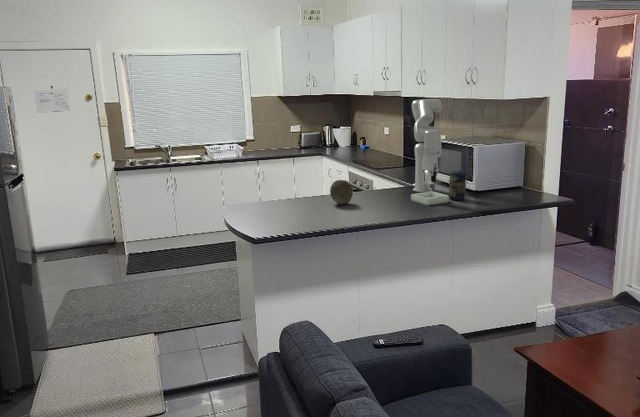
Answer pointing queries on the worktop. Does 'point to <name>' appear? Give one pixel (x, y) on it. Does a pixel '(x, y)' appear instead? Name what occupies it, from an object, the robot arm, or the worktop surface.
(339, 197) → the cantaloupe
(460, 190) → the canister
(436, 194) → the tray
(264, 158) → the worktop surface
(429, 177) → the metal cylinder
